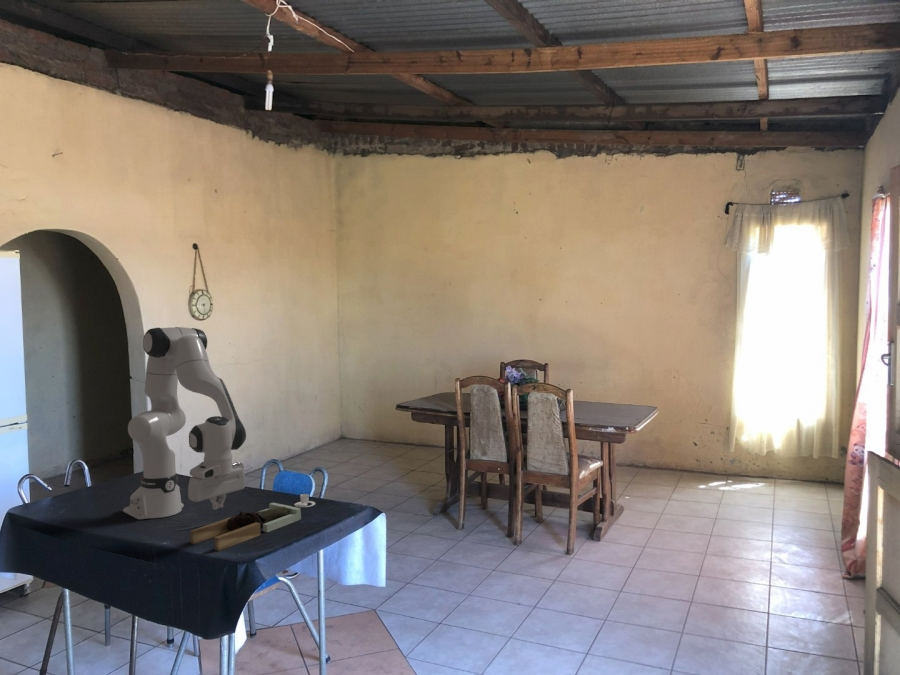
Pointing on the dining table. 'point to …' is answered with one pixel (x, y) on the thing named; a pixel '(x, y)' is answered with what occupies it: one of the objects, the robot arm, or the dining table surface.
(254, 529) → the oak channel
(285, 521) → the frame
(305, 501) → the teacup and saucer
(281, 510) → the dark piece
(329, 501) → the dining table surface
